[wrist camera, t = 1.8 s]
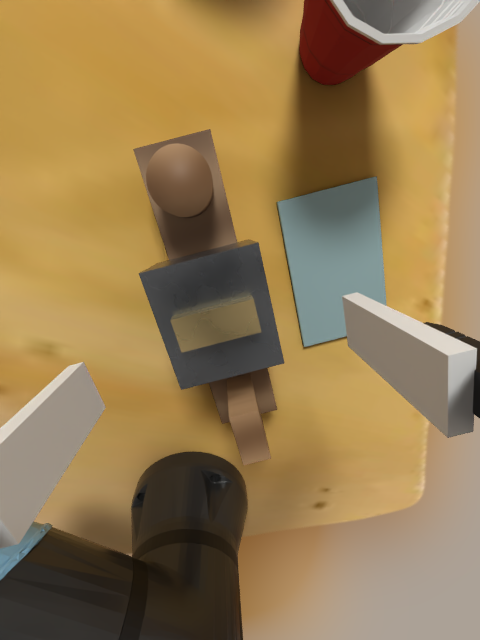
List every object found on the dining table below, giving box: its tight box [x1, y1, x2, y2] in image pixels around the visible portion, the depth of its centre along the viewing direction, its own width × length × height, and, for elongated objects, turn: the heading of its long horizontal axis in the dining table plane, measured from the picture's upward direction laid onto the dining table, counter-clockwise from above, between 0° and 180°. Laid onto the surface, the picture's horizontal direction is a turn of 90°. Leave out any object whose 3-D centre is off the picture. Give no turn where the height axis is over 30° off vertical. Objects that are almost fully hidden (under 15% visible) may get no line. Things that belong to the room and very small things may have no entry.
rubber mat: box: [277, 176, 386, 347], centre depth 30 cm, size 16×10×1 cm, turn 14°
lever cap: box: [139, 240, 284, 390], centre depth 22 cm, size 9×8×7 cm
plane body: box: [133, 129, 277, 465], centre depth 25 cm, size 26×6×11 cm, turn 14°
